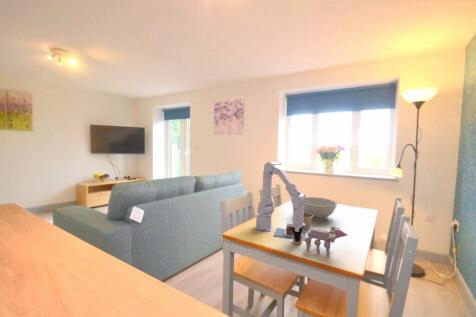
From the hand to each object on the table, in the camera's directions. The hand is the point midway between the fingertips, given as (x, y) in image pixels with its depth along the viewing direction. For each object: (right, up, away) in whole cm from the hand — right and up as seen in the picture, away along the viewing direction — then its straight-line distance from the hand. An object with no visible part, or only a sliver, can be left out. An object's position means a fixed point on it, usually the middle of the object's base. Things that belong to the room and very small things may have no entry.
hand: (297, 239), depth 130 cm
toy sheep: (+11, -3, -11) cm, 16 cm away
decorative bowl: (+25, +1, +42) cm, 49 cm away
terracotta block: (0, -1, 0) cm, 1 cm away
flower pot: (+11, 0, +22) cm, 24 cm away
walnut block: (-1, 0, +11) cm, 11 cm away
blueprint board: (-2, -1, +11) cm, 11 cm away
